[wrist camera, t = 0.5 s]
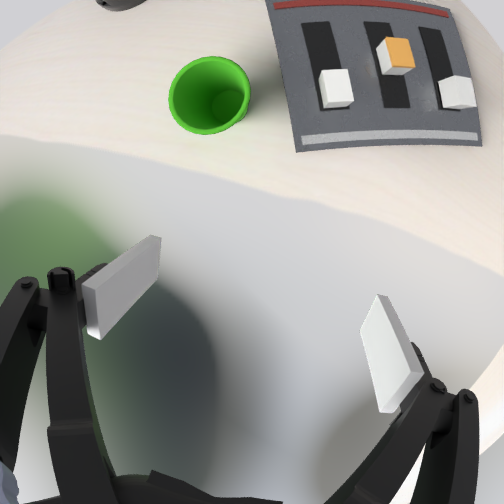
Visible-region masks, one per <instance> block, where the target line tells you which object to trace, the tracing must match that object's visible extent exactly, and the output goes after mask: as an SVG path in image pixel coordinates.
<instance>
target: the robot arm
mask: <svg viewBox="0 0 504 504" xmlns="http://www.w3.org/2000/svg"><path fill="white" fill-rule="evenodd" d="M144 1H146V0H96V2H97V3H98V4H99V5H100V6H101V7H103V8H105V9H107V10H110V11H123V10H127V9H130V8H132V7H135V6H137V5H139V4H141V3H142V2H144ZM160 249H161V238H160V237H156V236H153V235H149V236H148V237H146V238H145V239H143V240H142V241H140V242H139V243H138V244H136V245H135V246H133V247H132V248H130V249H129V250H127V251H126V252H125V253H123V254H122V255H120V256H119V257H118V258H116V259H115V260H113V261H112V262H111V263H109V264H107V263H103V264H100V265H97V266H95V267H94V268H93V269H91V270H90V271H88V272H87V273H86V274H84V275H83V276H81V277H80V278H78V279H77V280H76V281H75V276H74V275H75V274H74V271H73V270H72V269H71V268H68V267H56V268H54V269H51V270H50V271H49V272H48V274H47V278H48V285H49V290H48V289H43V288H39V282H38V280H37V279H36V278H34V277H28V276H27V277H22V278H21V279H19V280H18V281H17V282H16V283H15V284H14V286H13V287H12V289H11V290H10V292H9V294H8V295H7V297H6V299H5V300H4V302H3V303H2V305H1V307H0V504H19V503H18V501H17V495H18V493H19V488H18V486H17V480H16V478H15V476H14V474H13V471H14V467H15V463H16V458H17V452H18V445H19V437H20V431H21V425H22V419H23V415H24V409H25V405H26V400H27V396H28V392H29V388H30V384H31V380H32V376H33V372H34V368H35V365H36V362H37V359H38V355H39V352H40V349H41V346H42V343H43V340H44V337H45V334H46V376H47V393H48V405H49V414H50V422H51V423H50V426H49V427H48V429H47V436H48V443H49V448H50V454H51V459H52V464H53V469H54V473H55V477H56V481H57V485H58V488H59V492H60V495H59V496H56V497H52V498H48V499H44V500H39V501H35V502H30V503H25V504H283V502H281V501H273V500H265V499H259V498H252V497H241V498H220V497H213V496H211V495H209V494H207V493H205V492H203V491H201V490H199V489H197V488H195V487H194V486H192V485H190V484H188V483H186V482H184V481H182V480H179V479H176V478H173V477H170V476H167V475H164V474H161V473H159V472H156V471H154V470H152V471H151V473H150V475H139V474H133V475H132V474H130V475H121V476H116V474H115V471H114V468H113V466H112V464H111V461H110V459H109V456H108V453H107V449H106V446H105V443H104V440H103V436H102V433H101V429H100V426H99V422H98V418H97V414H96V409H95V405H94V401H93V396H92V392H91V386H90V381H89V376H88V370H87V364H86V357H85V350H84V343H83V334H82V328H83V327H84V326H85V325H87V331H88V334H89V335H91V336H93V337H95V338H97V339H100V340H101V339H102V338H103V337H104V336H105V335H106V333H107V332H108V331H109V330H110V329H111V328H112V327H113V326H114V325H115V324H116V323H117V321H118V320H119V319H120V318H121V317H122V316H123V315H124V314H125V313H126V312H127V310H128V309H129V308H130V307H131V306H132V305H133V304H134V303H135V302H136V301H137V300H138V299H139V297H141V296H142V295H143V293H144V292H145V291H146V290H147V289H148V288H149V287H150V286H151V285H152V284H153V283H154V282H155V281H156V280H157V279H158V273H159V260H160ZM360 334H361V338H362V342H363V345H364V349H365V353H366V357H367V360H368V364H369V368H370V372H371V376H372V380H373V384H374V389H375V393H376V398H377V402H378V407H379V411H380V412H382V413H393V412H394V411H395V410H396V409H397V408H398V406H399V405H400V408H401V412H400V413H399V415H398V416H397V417H396V418H395V419H394V420H393V421H392V422H391V423H390V427H389V429H388V430H387V432H386V433H385V434H384V436H383V437H382V438H381V440H380V441H379V442H378V444H377V445H376V446H375V447H374V449H373V450H372V451H371V453H370V454H369V455H368V456H367V457H366V459H365V460H364V461H363V462H362V463H361V465H360V466H359V467H358V468H357V469H356V470H355V472H354V473H353V474H352V475H351V476H350V477H349V478H348V479H347V480H346V482H345V483H344V484H343V485H342V486H341V487H340V488H339V489H338V490H337V491H336V492H335V493H334V494H333V495H332V496H331V497H330V498H329V499H328V500H327V501H326V502H325V503H324V504H389V503H390V502H391V500H392V499H393V497H394V496H395V494H396V493H397V491H398V490H399V488H400V487H401V485H402V484H403V482H404V481H405V479H406V477H407V476H408V474H409V472H410V471H411V469H412V467H413V465H414V464H415V462H416V460H417V458H418V456H419V455H420V453H421V451H422V449H423V447H424V445H425V443H426V445H425V450H424V454H423V459H422V463H421V467H420V471H419V475H418V479H417V482H416V486H415V489H414V493H413V496H412V499H411V502H410V504H474V501H475V494H476V486H477V477H478V463H479V409H478V400H477V397H476V396H475V394H474V393H473V392H472V391H470V390H468V389H462V390H461V391H460V392H459V393H458V394H457V395H454V394H450V393H448V392H447V388H446V386H445V385H444V383H443V382H441V381H440V380H438V379H436V378H432V375H431V373H430V371H429V369H428V366H427V364H426V362H425V360H424V358H423V357H422V354H421V351H420V349H419V348H418V347H417V346H416V345H415V344H414V343H413V342H410V340H409V338H408V336H407V334H406V332H405V330H404V328H403V326H402V324H401V322H400V320H399V318H398V316H397V314H396V312H395V310H394V308H393V306H392V304H391V302H390V300H389V298H388V297H387V296H383V295H379V294H377V295H376V297H375V299H374V302H373V304H372V306H371V308H370V310H369V312H368V314H367V317H366V318H365V321H364V323H363V325H362V327H361V329H360Z"/></svg>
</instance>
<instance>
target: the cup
mask: <svg viewBox="0 0 504 504" xmlns="http://www.w3.org/2000/svg"><path fill="white" fill-rule="evenodd" d="M250 93H251V89H250V83H249V80H248V77H247V75H246V73H245V72H244V71H243V69H242V68H241V67H240V66H239V65H238V64H236V63H235V62H233V61H232V60H229V59H226V58H223V57H216V56H209V57H203V58H200V59H197V60H195V61H192V62H191V63H189V64H188V65H186V66H185V67H183V68H182V69H181V71H180V72H179V73H178V74H177V75H176V77H175V78H174V80H173V82H172V84H171V87H170V90H169V98H168V101H169V108H170V111H171V113H172V116H173V118H174V119H175V120H176V122H177V123H178V124H179V125H180V126H181V127H183V128H184V129H185V130H188V131H190V132H192V133H195V134H202V135H208V134H216V133H219V132H222V131H224V130H226V129H228V128H230V127H231V126H233V125H234V124H235V123H237V122H239V121H240V120H241V119H243V118H244V116H245V115H246V113H247V110H248V104H249V101H250Z"/></svg>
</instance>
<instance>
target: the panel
mask: <svg viewBox="0 0 504 504" xmlns="http://www.w3.org/2000/svg"><path fill="white" fill-rule="evenodd" d="M265 2H266V6H267V10H268V14H269V18H270V22H271V26H272V30H273V35H274V39H275V44H276V48H277V53H278V57H279V62H280V67H281V71H282V76H283V81H284V86H285V92H286V97H287V102H288V108H289V113H290V119H291V125H292V131H293V137H294V143H295V149H296V153H297V152H305V151H315V150H325V149H336V148H348V147H363V146H383V145H463V146H481V147H482V140H481V130H480V122H479V115H478V109H477V107H470V108H463V109H452V108H443V104H442V98H441V93H440V88H439V83H438V81H441V80H443V79H446V78H449V77H451V76H454V75H456V76H462V77H467V78H471V74H470V70H469V66H468V62H467V59H466V55H465V52H464V48H463V45H462V42H461V39H460V36H459V33H458V30H457V27H456V25H455V22H454V19H453V17H452V14H451V12H450V9H448V8H444V7H440V6H436V5H431V4H426V3H421V2H416V1H410V0H265ZM386 37H393V38H404V39H408V41H409V44H410V48H411V51H412V55H413V59H414V63H415V68H413V69H411V70H410V71H408V72H406V73H405V74H403V75H382V71H381V67H380V63H379V59H378V55H377V51H376V48H377V47H378V46H379V45H380V44H381V42H382V41H383V40H384V39H385V38H386ZM334 69H348V74H349V78H350V83H351V88H352V93H353V98H354V101H353V102H352V103H351V104H349V105H348V106H347V107H334V108H324V106H323V101H322V96H321V91H320V85H319V81H318V80H319V77H320V74H321V71H322V70H334ZM471 80H472V78H471ZM472 84H473V83H472ZM473 89H474V87H473ZM474 94H475V92H474ZM475 99H476V97H475ZM476 105H477V103H476Z"/></svg>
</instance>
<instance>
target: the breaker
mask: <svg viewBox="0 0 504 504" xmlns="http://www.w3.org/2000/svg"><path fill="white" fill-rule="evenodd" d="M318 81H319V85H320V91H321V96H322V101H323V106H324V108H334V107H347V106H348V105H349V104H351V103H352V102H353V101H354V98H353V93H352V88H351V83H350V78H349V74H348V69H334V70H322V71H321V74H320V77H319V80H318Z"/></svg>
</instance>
